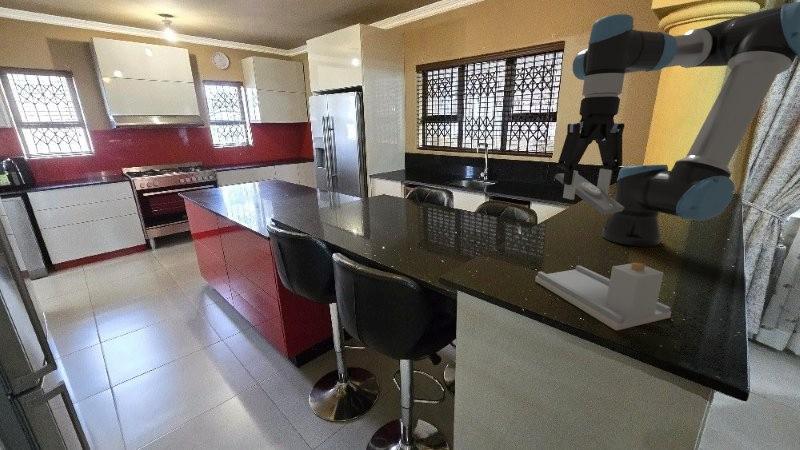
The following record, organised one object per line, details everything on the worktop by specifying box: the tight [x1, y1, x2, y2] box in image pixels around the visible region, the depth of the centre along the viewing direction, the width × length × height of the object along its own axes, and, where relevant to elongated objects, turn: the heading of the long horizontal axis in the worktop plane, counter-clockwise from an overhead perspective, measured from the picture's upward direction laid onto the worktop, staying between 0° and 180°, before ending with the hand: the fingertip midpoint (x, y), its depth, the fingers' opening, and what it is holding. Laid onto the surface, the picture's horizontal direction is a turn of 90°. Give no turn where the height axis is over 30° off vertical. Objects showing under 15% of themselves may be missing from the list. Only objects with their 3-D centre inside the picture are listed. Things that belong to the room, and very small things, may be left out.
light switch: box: [554, 172, 624, 216], centre depth 81 cm, size 8×6×14 cm
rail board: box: [534, 262, 672, 331], centre depth 69 cm, size 13×21×10 cm, turn 18°
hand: (585, 197), depth 81 cm, fingers closed on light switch, 9 cm apart
